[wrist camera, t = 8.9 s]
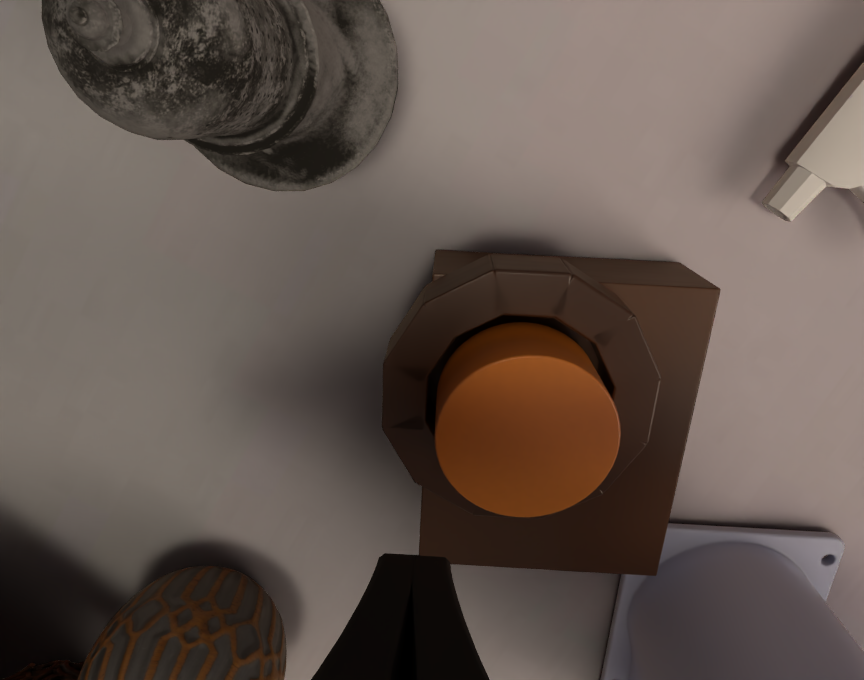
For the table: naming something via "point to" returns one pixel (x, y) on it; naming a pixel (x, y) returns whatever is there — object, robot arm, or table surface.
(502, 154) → the table surface
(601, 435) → the orange button
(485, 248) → the table surface
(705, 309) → the brown button base
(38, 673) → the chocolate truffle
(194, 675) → the vase
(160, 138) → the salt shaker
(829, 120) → the spray bottle
